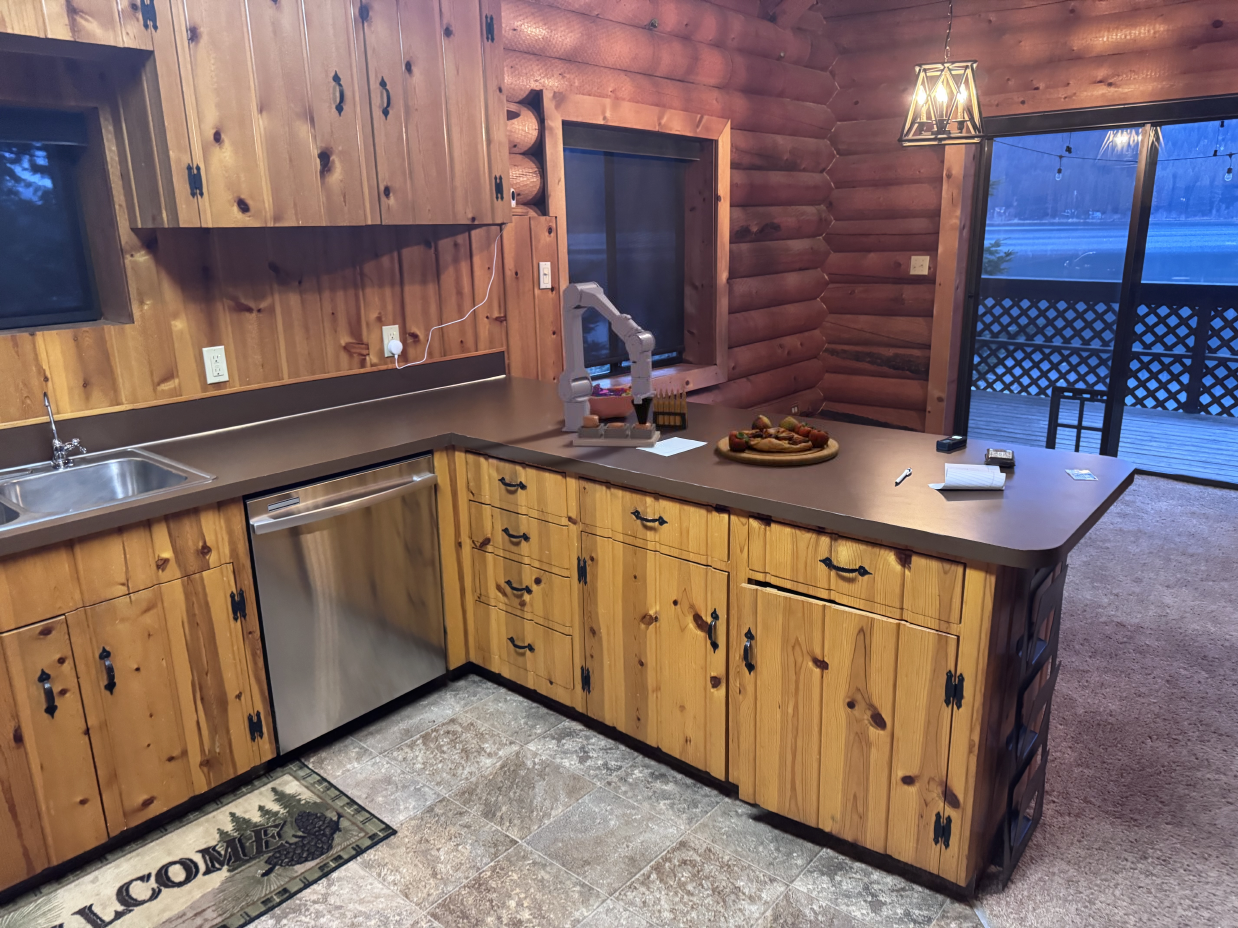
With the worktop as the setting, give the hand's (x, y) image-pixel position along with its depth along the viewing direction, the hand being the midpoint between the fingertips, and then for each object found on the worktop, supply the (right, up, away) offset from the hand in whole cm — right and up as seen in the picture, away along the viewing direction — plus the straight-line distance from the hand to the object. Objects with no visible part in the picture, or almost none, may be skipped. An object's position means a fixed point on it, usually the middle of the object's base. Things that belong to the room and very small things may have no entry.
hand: (642, 423), depth 242 cm
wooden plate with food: (+35, -8, -13) cm, 39 cm away
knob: (0, -3, +1) cm, 3 cm away
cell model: (-9, +3, +33) cm, 34 cm away
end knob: (-15, -1, +3) cm, 15 cm away
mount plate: (-7, -5, +3) cm, 9 cm away
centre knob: (-7, -3, +2) cm, 8 cm away
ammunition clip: (+9, -1, +16) cm, 19 cm away
